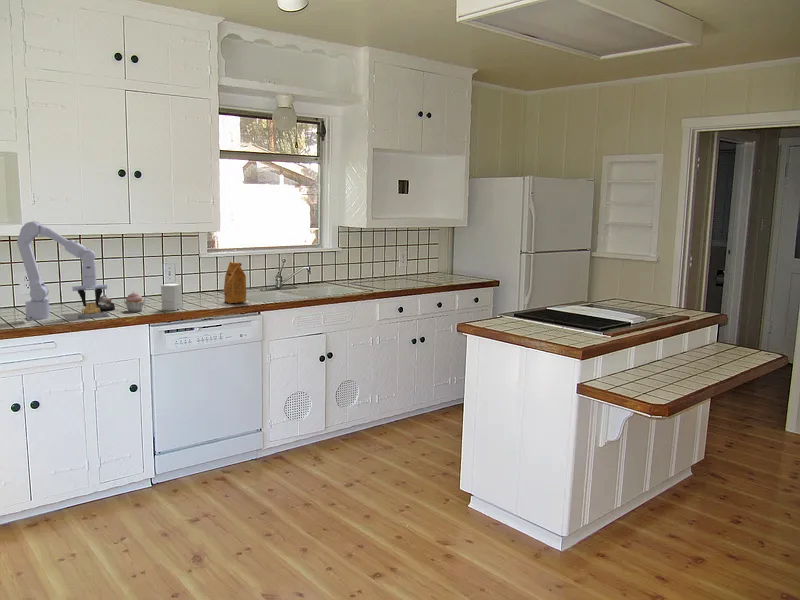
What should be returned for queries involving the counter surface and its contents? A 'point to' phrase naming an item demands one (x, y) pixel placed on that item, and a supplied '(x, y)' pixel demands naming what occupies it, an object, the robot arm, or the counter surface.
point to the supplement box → (171, 296)
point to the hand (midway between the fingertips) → (90, 305)
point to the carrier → (85, 315)
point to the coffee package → (235, 284)
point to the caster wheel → (105, 304)
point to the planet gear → (90, 308)
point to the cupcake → (134, 302)
